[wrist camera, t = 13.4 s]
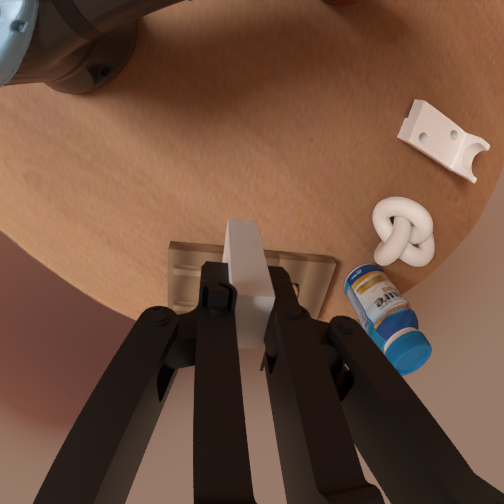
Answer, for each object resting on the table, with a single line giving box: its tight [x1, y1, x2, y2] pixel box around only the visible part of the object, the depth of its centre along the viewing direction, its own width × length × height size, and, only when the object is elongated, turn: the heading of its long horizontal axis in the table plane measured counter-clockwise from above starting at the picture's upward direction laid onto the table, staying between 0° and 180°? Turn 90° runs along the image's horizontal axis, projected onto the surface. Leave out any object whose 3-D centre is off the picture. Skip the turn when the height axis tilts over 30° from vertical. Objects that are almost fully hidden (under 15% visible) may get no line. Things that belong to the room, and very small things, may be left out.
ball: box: [292, 283, 298, 296], centre depth 50 cm, size 3×3×3 cm
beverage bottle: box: [344, 263, 432, 376], centre depth 44 cm, size 8×8×20 cm
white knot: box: [372, 196, 435, 267], centre depth 44 cm, size 11×12×9 cm
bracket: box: [397, 99, 490, 184], centre depth 37 cm, size 13×7×8 cm, turn 71°
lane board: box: [168, 241, 336, 320], centre depth 49 cm, size 26×13×4 cm, turn 81°
